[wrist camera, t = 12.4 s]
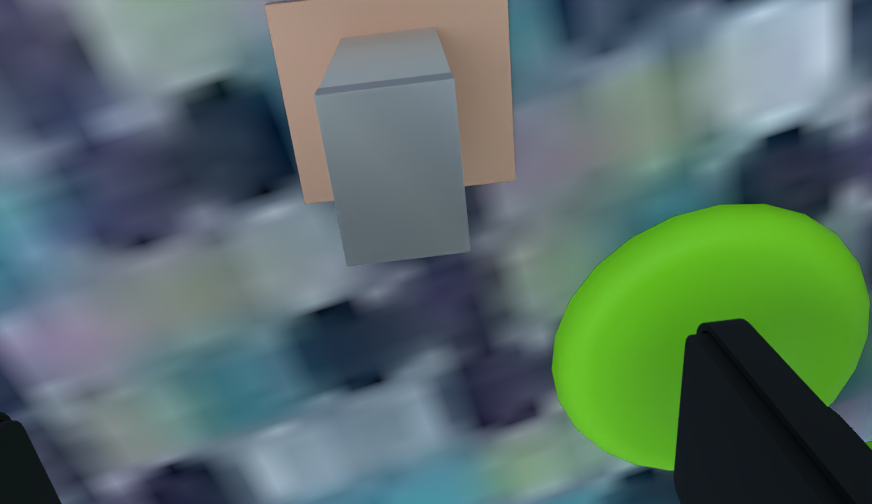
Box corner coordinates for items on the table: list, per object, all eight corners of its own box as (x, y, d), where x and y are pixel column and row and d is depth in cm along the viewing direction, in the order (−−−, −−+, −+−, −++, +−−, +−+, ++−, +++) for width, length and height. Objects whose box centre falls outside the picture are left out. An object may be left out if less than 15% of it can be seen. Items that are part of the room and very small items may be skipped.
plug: (449, 152, 27) (470, 251, 19) (361, 163, 27) (346, 266, 19) (436, 26, 25) (454, 78, 17) (340, 37, 25) (313, 95, 17)
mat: (513, 175, 28) (515, 180, 28) (306, 198, 28) (305, 204, 28) (504, -23, 25) (506, -22, 24) (267, 3, 25) (264, 4, 24)
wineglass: (652, 153, 28) (982, 461, 12) (936, 266, 32) (1481, 621, 16) (500, 423, 35) (587, 854, 19) (749, 493, 38) (1001, 907, 22)
